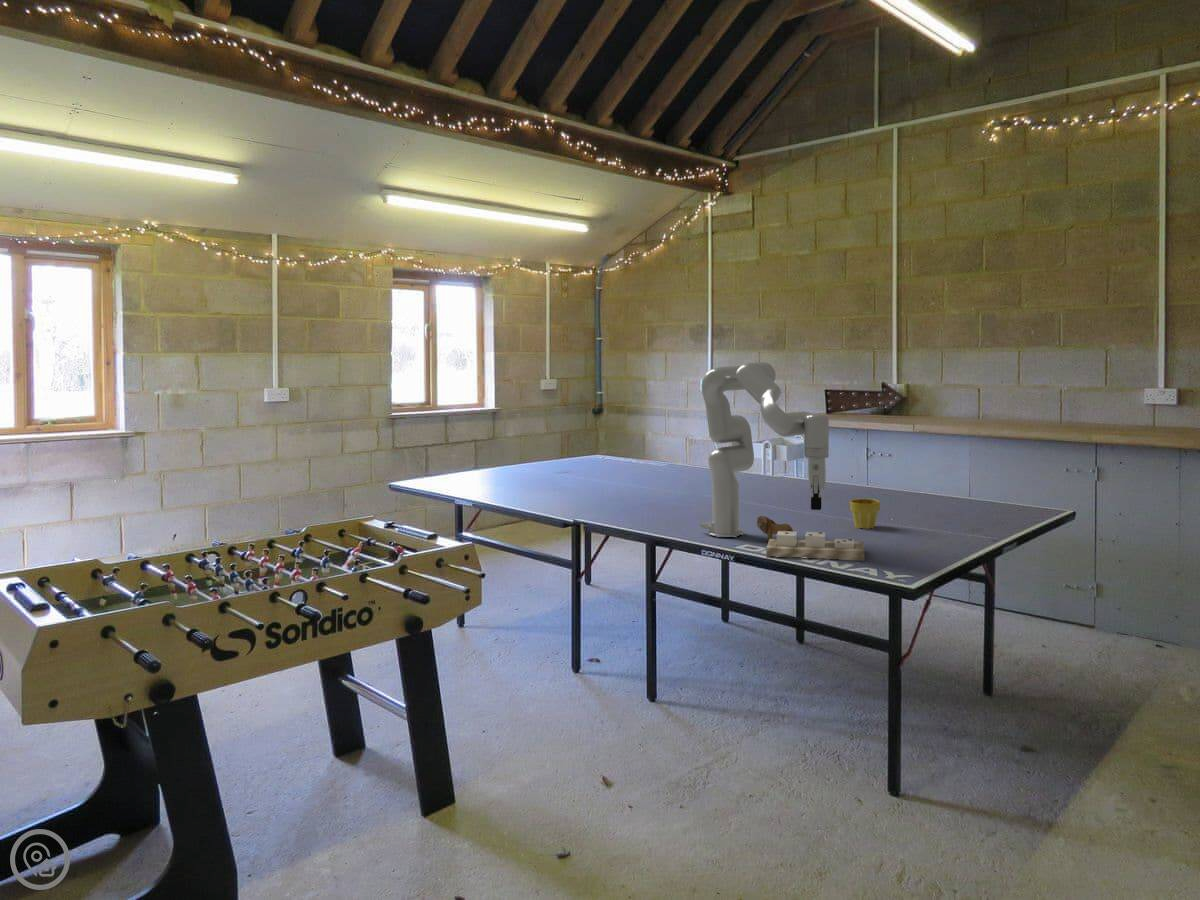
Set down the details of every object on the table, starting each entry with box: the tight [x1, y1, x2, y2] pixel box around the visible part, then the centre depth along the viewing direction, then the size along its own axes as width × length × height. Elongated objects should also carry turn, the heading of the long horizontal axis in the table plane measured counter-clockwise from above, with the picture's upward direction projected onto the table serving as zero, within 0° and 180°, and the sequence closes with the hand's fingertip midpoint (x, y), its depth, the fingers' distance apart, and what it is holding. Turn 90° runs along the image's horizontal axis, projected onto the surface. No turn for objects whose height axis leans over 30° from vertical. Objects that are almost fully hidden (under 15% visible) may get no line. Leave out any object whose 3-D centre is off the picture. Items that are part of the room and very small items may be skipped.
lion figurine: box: [756, 515, 794, 541], centre depth 296 cm, size 15×5×9 cm, turn 66°
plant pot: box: [849, 498, 881, 530], centre depth 315 cm, size 10×10×10 cm
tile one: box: [776, 531, 798, 547], centre depth 281 cm, size 6×6×4 cm
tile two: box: [804, 531, 826, 548], centre depth 278 cm, size 6×6×4 cm
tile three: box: [834, 538, 855, 549], centre depth 276 cm, size 6×6×4 cm
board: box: [765, 538, 865, 562], centre depth 279 cm, size 30×13×3 cm, turn 74°
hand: (816, 509), depth 277 cm, fingers closed
